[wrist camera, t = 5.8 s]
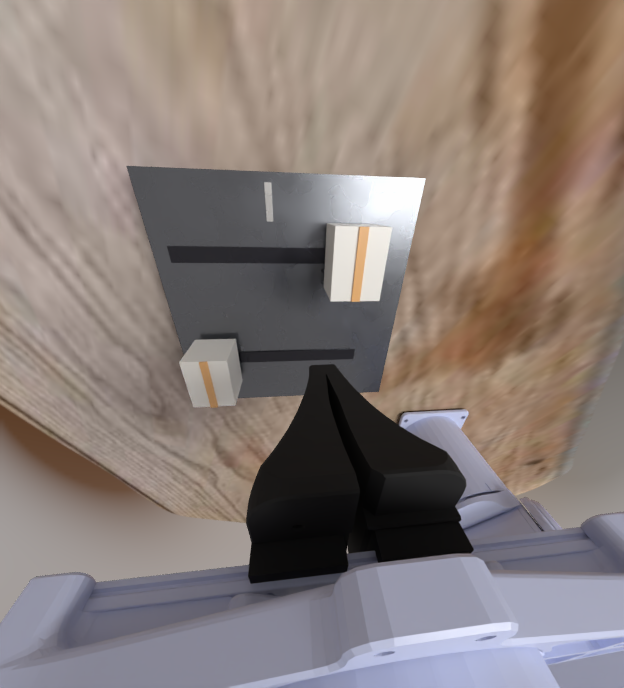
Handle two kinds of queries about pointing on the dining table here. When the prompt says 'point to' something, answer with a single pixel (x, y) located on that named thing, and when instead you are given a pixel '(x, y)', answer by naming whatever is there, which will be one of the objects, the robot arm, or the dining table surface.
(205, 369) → the fader far
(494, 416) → the dining table surface
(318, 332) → the fader console
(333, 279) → the fader near
